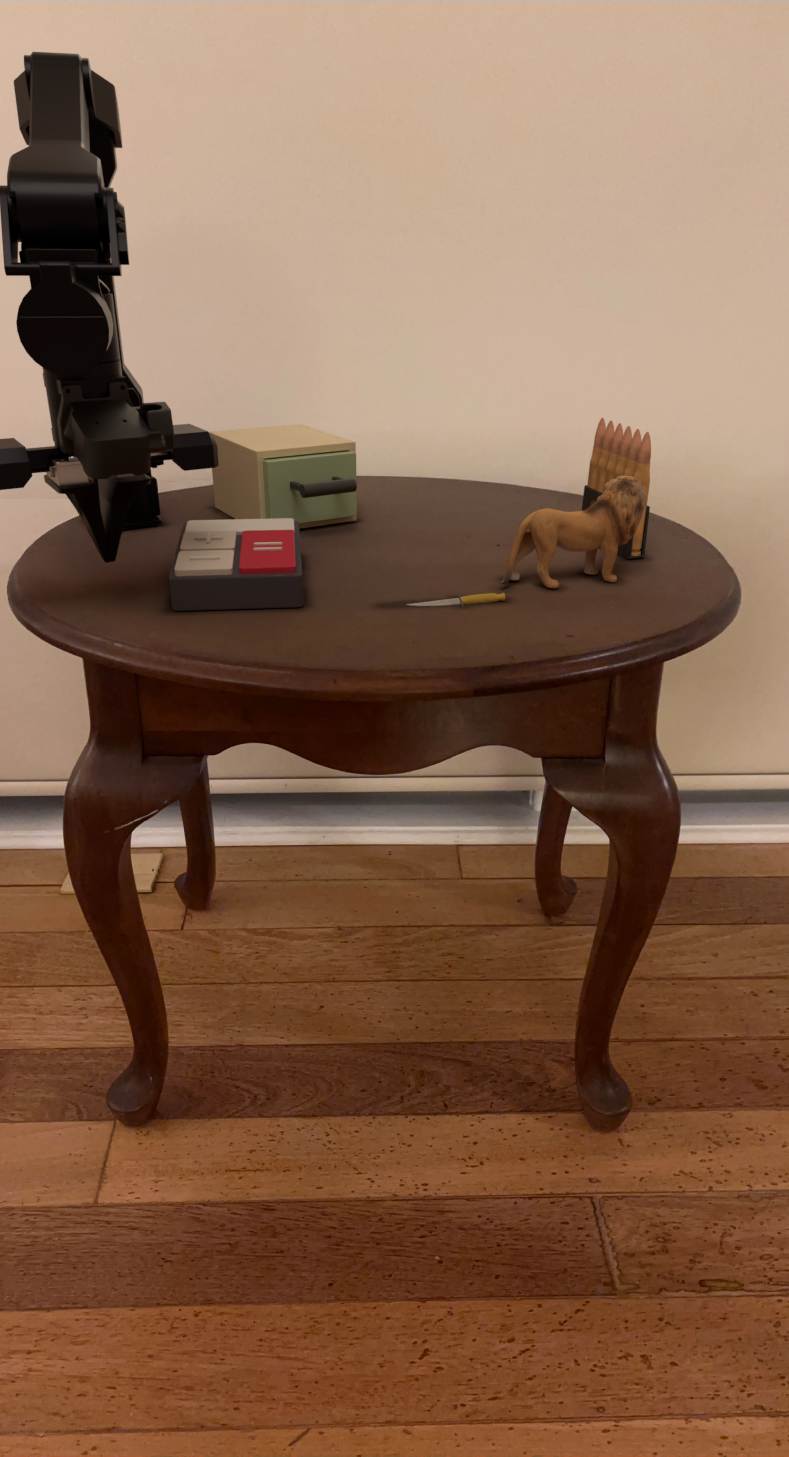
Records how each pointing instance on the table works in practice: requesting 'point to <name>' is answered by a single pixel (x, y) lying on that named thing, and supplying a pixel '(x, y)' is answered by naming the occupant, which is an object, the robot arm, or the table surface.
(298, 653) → the table surface
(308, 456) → the drawer
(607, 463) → the ammunition clip
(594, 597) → the table surface
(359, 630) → the table surface
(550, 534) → the lion figurine
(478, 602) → the dagger
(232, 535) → the calculator
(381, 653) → the table surface
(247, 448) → the cabinet
